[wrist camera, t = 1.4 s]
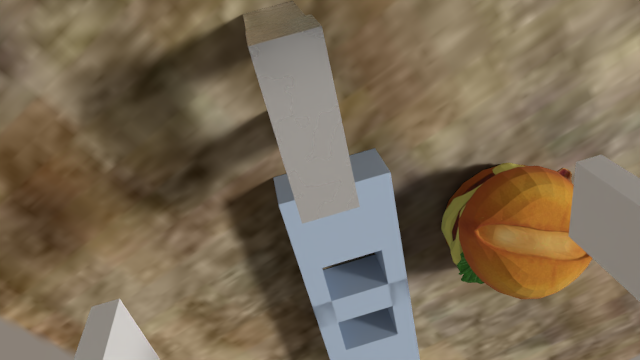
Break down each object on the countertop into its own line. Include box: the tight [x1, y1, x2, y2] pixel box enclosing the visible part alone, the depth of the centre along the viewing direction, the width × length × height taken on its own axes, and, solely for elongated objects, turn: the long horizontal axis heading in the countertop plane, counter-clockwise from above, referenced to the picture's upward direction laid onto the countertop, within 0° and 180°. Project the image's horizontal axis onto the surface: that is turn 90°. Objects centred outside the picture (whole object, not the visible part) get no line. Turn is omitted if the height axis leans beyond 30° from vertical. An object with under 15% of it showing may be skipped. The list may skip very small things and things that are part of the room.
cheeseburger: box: [441, 163, 592, 299], centre depth 33 cm, size 10×11×10 cm
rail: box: [274, 148, 420, 360], centre depth 36 cm, size 22×8×4 cm, turn 13°
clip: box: [243, 1, 360, 224], centre depth 24 cm, size 9×3×10 cm, turn 13°
